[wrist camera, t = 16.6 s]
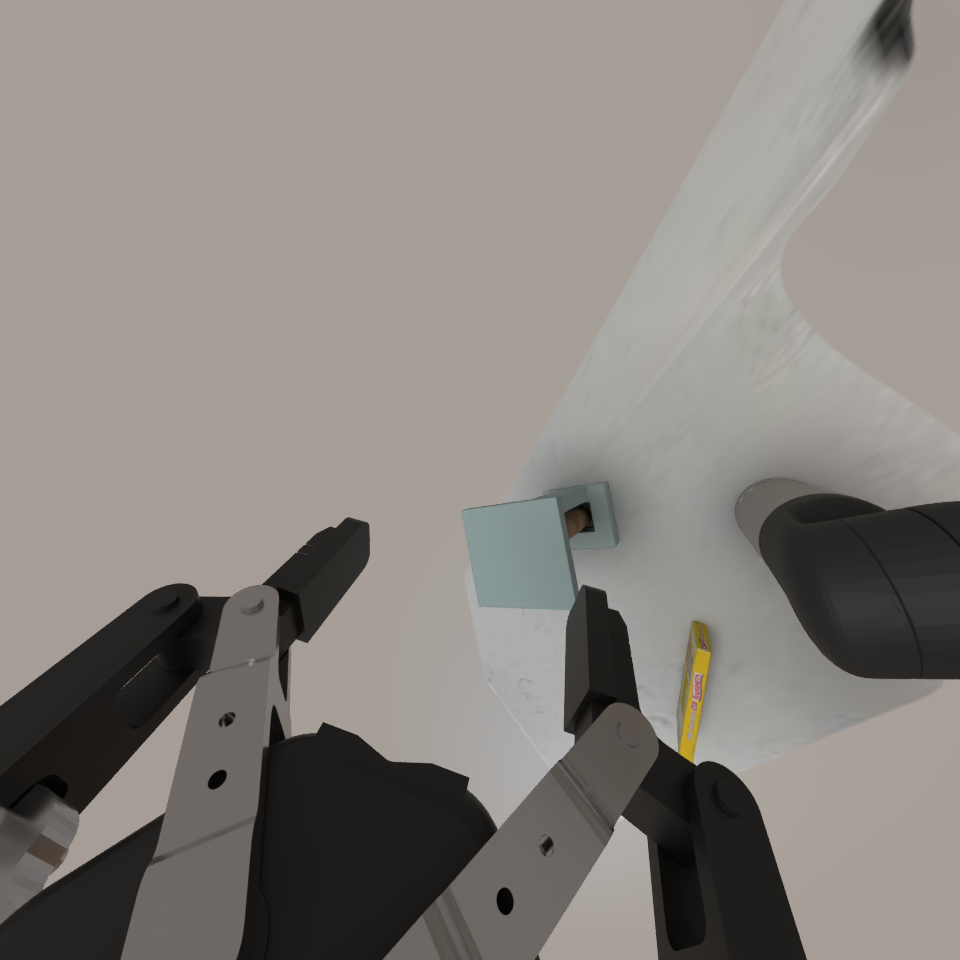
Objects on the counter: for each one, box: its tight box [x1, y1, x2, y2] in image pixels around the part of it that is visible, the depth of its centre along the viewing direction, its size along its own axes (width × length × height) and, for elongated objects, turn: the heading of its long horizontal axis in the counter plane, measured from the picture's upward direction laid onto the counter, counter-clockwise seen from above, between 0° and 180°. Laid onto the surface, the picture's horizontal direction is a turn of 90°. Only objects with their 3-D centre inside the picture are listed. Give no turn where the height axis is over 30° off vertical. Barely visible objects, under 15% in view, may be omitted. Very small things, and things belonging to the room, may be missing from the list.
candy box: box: [677, 621, 712, 763], centre depth 48 cm, size 16×2×8 cm, turn 176°
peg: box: [564, 506, 592, 539], centre depth 53 cm, size 3×3×12 cm
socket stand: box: [462, 482, 619, 610], centre depth 46 cm, size 11×11×28 cm
